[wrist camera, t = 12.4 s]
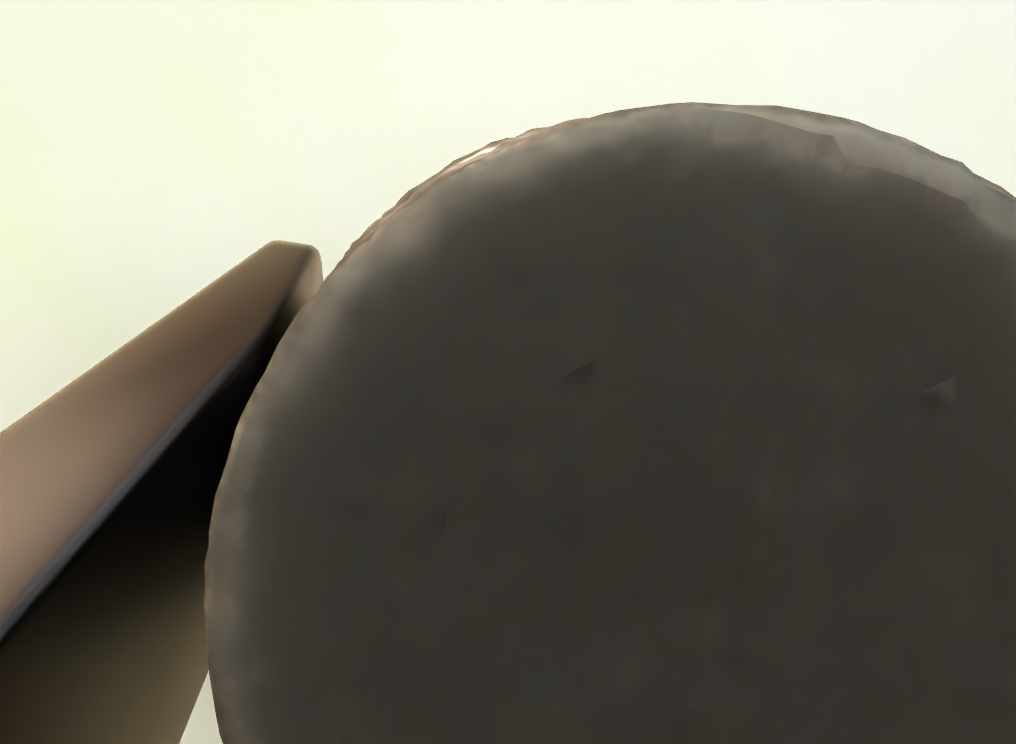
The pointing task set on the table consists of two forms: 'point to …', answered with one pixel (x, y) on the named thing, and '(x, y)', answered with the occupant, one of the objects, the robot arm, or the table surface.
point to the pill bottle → (638, 452)
